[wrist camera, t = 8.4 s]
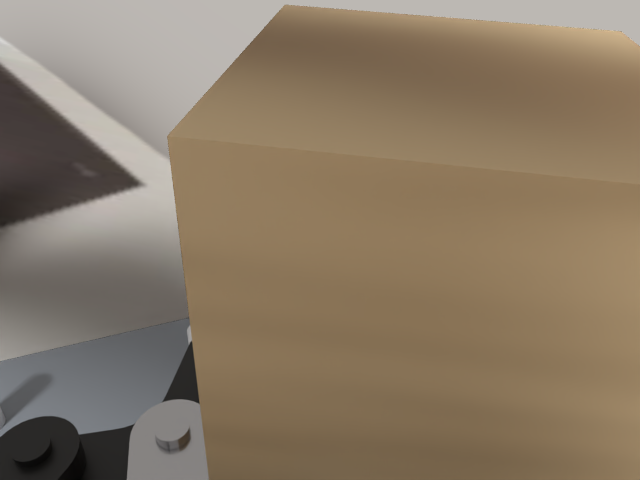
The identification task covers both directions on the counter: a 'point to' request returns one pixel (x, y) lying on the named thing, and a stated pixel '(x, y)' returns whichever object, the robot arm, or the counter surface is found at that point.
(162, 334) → the peg board
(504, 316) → the oak post
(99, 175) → the counter surface
